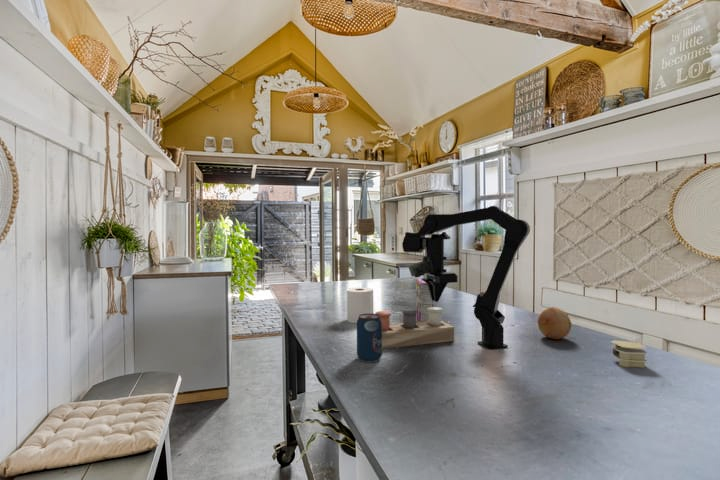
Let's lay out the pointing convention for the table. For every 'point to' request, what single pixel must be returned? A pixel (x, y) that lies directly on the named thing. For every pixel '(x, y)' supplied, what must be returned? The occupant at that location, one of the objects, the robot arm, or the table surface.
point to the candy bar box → (422, 300)
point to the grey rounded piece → (409, 318)
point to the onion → (554, 323)
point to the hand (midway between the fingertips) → (434, 301)
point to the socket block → (416, 334)
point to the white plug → (435, 316)
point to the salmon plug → (384, 319)
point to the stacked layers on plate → (629, 353)
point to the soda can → (369, 337)
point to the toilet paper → (359, 303)
